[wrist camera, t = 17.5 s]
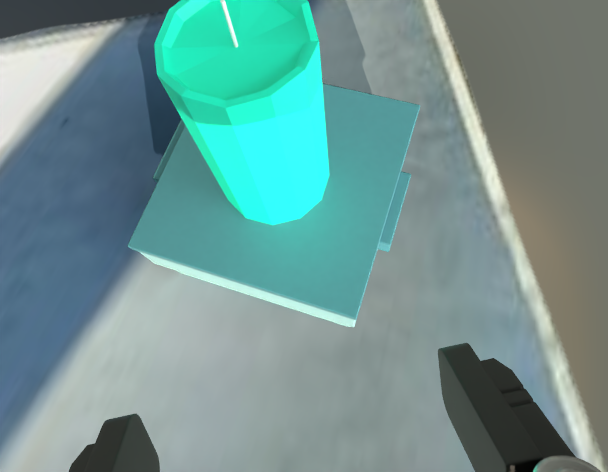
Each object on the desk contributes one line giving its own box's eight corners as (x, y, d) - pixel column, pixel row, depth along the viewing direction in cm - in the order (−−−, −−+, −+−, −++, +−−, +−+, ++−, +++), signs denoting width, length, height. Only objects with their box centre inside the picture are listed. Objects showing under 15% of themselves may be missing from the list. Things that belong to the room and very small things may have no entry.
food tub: (161, 274, 32) (117, 242, 26) (231, 117, 36) (207, 57, 30) (363, 340, 29) (368, 322, 23) (415, 162, 33) (430, 106, 27)
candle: (291, 244, 25) (245, 107, 14) (202, 193, 26) (94, 32, 15) (349, 157, 26) (350, -31, 15) (261, 113, 28) (203, -87, 17)
